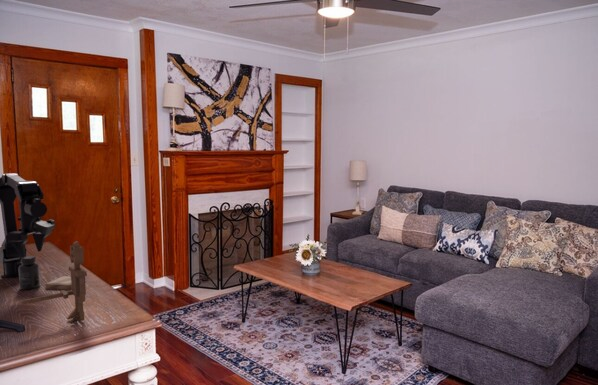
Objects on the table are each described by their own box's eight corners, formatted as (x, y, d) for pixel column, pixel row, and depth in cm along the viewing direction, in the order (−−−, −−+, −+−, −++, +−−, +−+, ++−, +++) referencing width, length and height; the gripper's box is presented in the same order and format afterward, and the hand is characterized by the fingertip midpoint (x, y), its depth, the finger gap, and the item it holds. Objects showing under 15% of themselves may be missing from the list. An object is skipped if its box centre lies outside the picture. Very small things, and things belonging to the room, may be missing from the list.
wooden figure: (22, 324, 134) (16, 244, 131) (84, 310, 146) (80, 237, 143) (30, 340, 123) (25, 253, 121) (97, 323, 135) (93, 244, 132)
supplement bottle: (44, 286, 171) (42, 256, 169) (27, 291, 165) (25, 260, 163) (32, 283, 174) (31, 254, 172) (15, 288, 167) (13, 258, 166)
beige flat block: (45, 290, 167) (45, 283, 167) (62, 282, 177) (62, 275, 177) (70, 291, 166) (69, 284, 166) (85, 283, 176) (85, 276, 176)
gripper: (31, 218, 157) (34, 261, 159) (64, 211, 175) (66, 249, 177) (2, 218, 158) (5, 260, 160) (38, 210, 176) (40, 248, 178)
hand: (31, 254), depth 169 cm, fingers open, 9 cm apart
